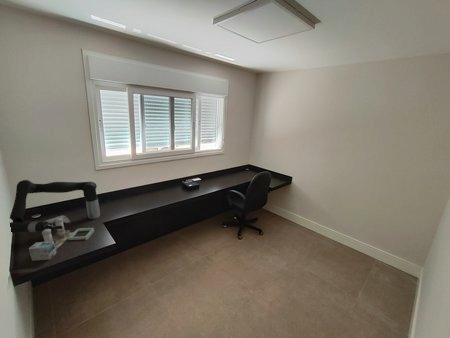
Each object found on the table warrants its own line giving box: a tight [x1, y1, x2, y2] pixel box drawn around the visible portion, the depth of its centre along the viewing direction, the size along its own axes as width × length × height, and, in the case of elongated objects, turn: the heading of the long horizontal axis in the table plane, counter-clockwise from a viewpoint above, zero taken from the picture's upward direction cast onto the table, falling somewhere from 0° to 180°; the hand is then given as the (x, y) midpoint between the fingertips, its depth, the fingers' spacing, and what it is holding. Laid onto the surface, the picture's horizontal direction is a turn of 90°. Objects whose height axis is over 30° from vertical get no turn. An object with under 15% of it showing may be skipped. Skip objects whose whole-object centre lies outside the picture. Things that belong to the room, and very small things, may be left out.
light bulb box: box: [28, 241, 57, 262], centre depth 128 cm, size 11×7×11 cm, turn 100°
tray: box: [67, 227, 95, 242], centre depth 153 cm, size 12×12×4 cm
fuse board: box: [52, 229, 75, 251], centre depth 144 cm, size 21×12×4 cm, turn 9°
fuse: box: [41, 229, 53, 242], centre depth 136 cm, size 5×5×13 cm
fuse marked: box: [55, 218, 66, 235], centre depth 148 cm, size 5×5×13 cm
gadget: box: [45, 215, 71, 226], centre depth 168 cm, size 23×15×4 cm, turn 55°
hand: (63, 225), depth 148 cm, fingers closed on fuse marked, 4 cm apart
